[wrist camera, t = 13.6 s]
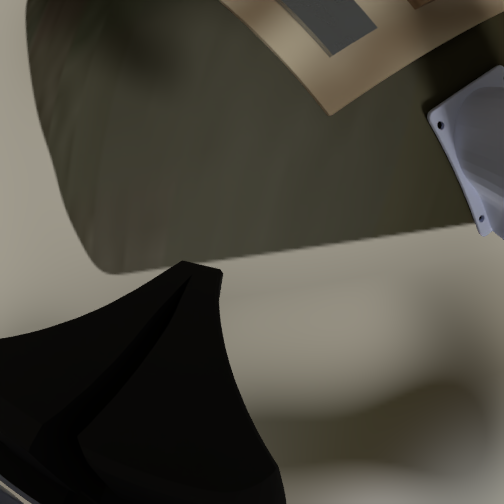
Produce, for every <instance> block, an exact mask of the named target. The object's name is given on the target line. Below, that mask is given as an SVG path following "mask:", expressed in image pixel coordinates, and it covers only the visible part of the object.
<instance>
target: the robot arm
mask: <svg viewBox="0 0 504 504" xmlns="http://www.w3.org/2000/svg"><path fill="white" fill-rule="evenodd" d="M427 119H428V122H429V123H430V125H431V127H432V129H433V130H434V132H435V134H436V136H437V138H438V140H439V142H440V143H441V145H442V147H443V149H444V151H445V153H446V155H447V157H448V159H449V161H450V163H451V166H452V168H453V170H454V172H455V174H456V176H457V179H458V181H459V183H460V185H461V188H462V190H463V193H464V195H465V197H466V200H467V202H468V205H469V208H470V210H471V213H472V216H473V218H474V221H475V224H476V227H477V229H478V232H479V234H480V235H481V236H486V235H488V234H489V233H490V232H492V231H494V232H495V233H496V234H497V235H499V236H500V237H501V238H502V239H503V240H504V67H503V66H501V65H498V66H495V67H494V68H492V69H491V70H489V71H488V72H486V73H485V74H483V75H482V76H480V77H479V78H477V79H476V80H474V81H473V82H471V83H470V84H468V85H467V86H465V87H464V88H462V89H461V90H459V91H458V92H456V93H455V94H454V95H452V96H451V97H449V98H448V99H446V100H445V101H443V102H442V103H440V104H439V105H437V106H436V107H434V108H433V109H431V110H430V111H429V112H428V115H427ZM439 121H440V122H441V124H442V126H441V128H440V129H439V128H438V126H437V123H438V122H439ZM481 215H482V217H481V219H480V220H479V217H480V216H481ZM222 277H223V273H222V271H221V270H220V269H216V268H212V267H208V266H204V265H199V264H195V263H191V262H187V261H181V262H179V263H177V264H176V265H174V266H173V267H171V268H169V269H168V270H166V271H165V272H163V273H162V274H160V275H159V276H157V277H155V278H154V279H152V280H151V281H149V282H147V283H146V284H144V285H142V286H141V287H139V288H138V289H136V290H134V291H132V292H131V293H128V294H127V295H125V296H123V297H121V298H119V299H118V300H116V301H114V302H112V303H110V304H108V305H106V306H104V307H102V308H100V309H98V310H95V311H93V312H90V313H88V314H86V315H83V316H81V317H78V318H76V319H73V320H70V321H67V322H64V323H61V324H58V325H55V326H52V327H49V328H46V329H42V330H39V331H35V332H31V333H27V334H23V335H18V336H13V337H8V338H2V339H0V480H1V481H2V482H3V483H4V484H6V485H7V486H8V487H9V488H11V489H12V490H13V491H15V492H16V493H17V494H19V495H20V496H22V497H23V498H24V499H26V500H27V501H29V502H30V503H32V504H286V498H285V492H284V487H283V483H282V479H281V475H280V471H279V467H278V465H277V464H276V462H275V460H274V459H273V457H272V456H271V454H270V452H269V451H268V449H267V447H266V446H265V444H264V442H263V440H262V439H261V437H260V435H259V433H258V431H257V429H256V427H255V425H254V423H253V421H252V419H251V417H250V415H249V413H248V411H247V409H246V406H245V404H244V402H243V399H242V397H241V394H240V392H239V389H238V387H237V384H236V382H235V379H234V376H233V373H232V370H231V367H230V364H229V360H228V356H227V353H226V349H225V344H224V339H223V334H222V328H221V322H220V311H219V297H220V290H221V284H222ZM0 504H23V503H22V502H21V501H20V500H19V499H18V498H17V497H15V496H14V495H13V494H12V493H11V492H9V491H8V490H7V489H5V488H4V487H2V486H1V485H0Z"/></svg>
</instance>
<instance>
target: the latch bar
mask: <svg viewBox="0 0 504 504" xmlns="http://www.w3.org/2000/svg"><path fill="white" fill-rule="evenodd" d="M275 1H276V2H277V3H279V4H280V5H281V6H282V7H283V8H284V9H285V10H286V11H287V12H288V13H289V14H290V15H291V16H292V17H293V18H294V19H295V20H296V21H297V22H298V23H299V24H300V25H301V26H302V27H303V28H304V30H305V31H306V32H307V33H308V34H309V35H310V36H311V37H312V38H313V39H314V40H315V42H316V43H317V44H318V45H319V46H320V47H321V48H322V49H323V51H324V52H325V53H326V54H327V55H328V56H329V58H330V57H332V56H333V55H335V54H336V53H338V52H339V51H341V50H342V49H344V48H346V47H347V46H349V45H350V44H352V43H354V42H355V41H357V40H359V39H360V38H362V37H364V36H365V35H367V34H369V33H370V32H372V31H374V30H375V29H377V28H378V27H377V26H376V25H375V24H374V22H373V21H372V20H371V19H370V18H369V17H368V15H367V14H366V13H365V12H364V11H363V10H362V8H361V7H360V6H359V5H358V4H357V3H356V2H355V1H354V0H275Z"/></svg>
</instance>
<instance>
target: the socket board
mask: <svg viewBox="0 0 504 504" xmlns="http://www.w3.org/2000/svg"><path fill="white" fill-rule="evenodd" d="M218 1H219V2H220V3H221V4H223V5H224V6H225V7H226V8H227V9H228V10H230V11H231V12H232V13H233V14H234V15H235V16H236V17H237V18H238V19H239V20H241V21H242V22H243V23H244V24H245V25H246V26H247V27H248V28H249V29H250V30H251V31H252V32H253V33H254V34H255V35H256V36H257V37H258V38H259V39H260V40H261V41H262V42H263V43H264V44H265V45H266V46H267V47H268V48H269V49H270V50H271V51H272V52H273V53H274V54H275V55H276V56H277V57H278V58H279V59H280V60H281V62H282V63H283V64H284V65H285V66H286V67H287V68H288V69H289V70H290V71H291V73H292V74H293V75H294V76H295V77H296V78H297V79H298V80H299V82H300V83H301V84H302V85H303V86H304V87H305V89H306V90H307V91H308V92H309V93H310V95H311V96H312V97H313V98H314V99H315V101H316V102H317V103H318V104H319V106H320V107H321V108H322V109H323V111H324V112H325V113H326V114H327V116H331V115H333V114H334V113H335V112H337V111H338V110H340V109H341V108H343V107H344V106H346V105H347V104H348V103H350V102H351V101H353V100H354V99H356V98H357V97H359V96H360V95H362V94H363V93H365V92H366V91H368V90H369V89H371V88H372V87H374V86H375V85H377V84H378V83H380V82H381V81H383V80H384V79H386V78H387V77H389V76H390V75H392V74H394V73H395V72H397V71H398V70H400V69H402V68H403V67H405V66H406V65H408V64H410V63H411V62H413V61H414V60H416V59H418V58H419V57H421V56H423V55H424V54H426V53H428V52H429V51H431V50H433V49H434V48H436V47H438V46H440V45H441V44H443V43H445V42H446V41H448V40H450V39H452V38H454V37H455V36H457V35H459V34H461V33H463V32H464V31H466V30H468V29H470V28H472V27H474V26H476V25H477V24H479V23H481V22H483V21H485V20H487V19H489V18H491V17H493V16H495V15H497V14H499V13H501V12H503V11H504V0H354V1H355V2H356V3H357V4H358V5H359V6H360V7H361V8H362V10H363V11H364V12H365V13H366V14H367V15H368V17H369V18H370V19H371V20H372V21H373V22H374V24H375V25H376V26H377V27H378V28H377V29H375V30H374V31H372V32H370V33H369V34H367V35H365V36H364V37H362V38H360V39H359V40H357V41H355V42H354V43H352V44H350V45H349V46H347V47H346V48H344V49H342V50H341V51H339V52H338V53H336V54H335V55H333V56H332V57H330V58H329V56H328V55H327V54H326V53H325V52H324V51H323V49H322V48H321V47H320V46H319V45H318V44H317V43H316V42H315V40H314V39H313V38H312V37H311V36H310V35H309V34H308V33H307V32H306V31H305V30H304V28H303V27H302V26H301V25H300V24H299V23H298V22H297V21H296V20H295V19H294V18H293V17H292V16H291V15H290V14H289V13H288V12H287V11H286V10H285V9H284V8H283V7H282V6H281V5H280V4H279V3H277V2H276V1H275V0H218Z"/></svg>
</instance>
